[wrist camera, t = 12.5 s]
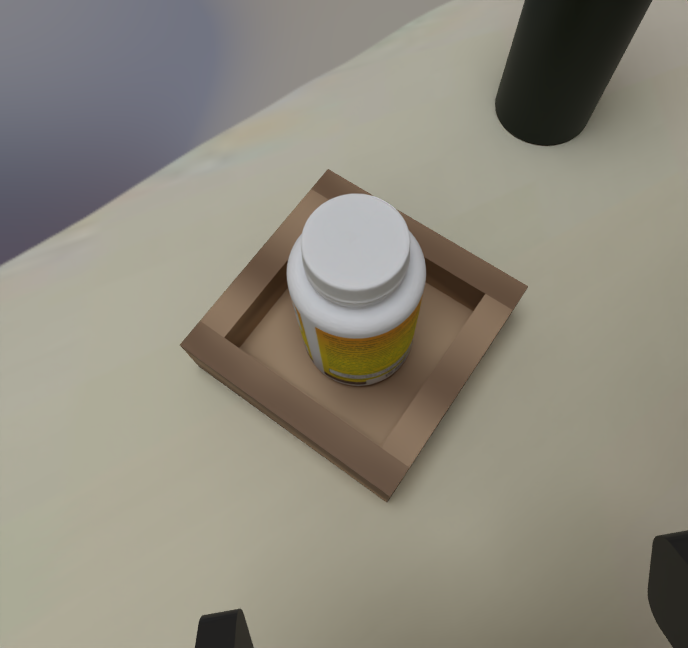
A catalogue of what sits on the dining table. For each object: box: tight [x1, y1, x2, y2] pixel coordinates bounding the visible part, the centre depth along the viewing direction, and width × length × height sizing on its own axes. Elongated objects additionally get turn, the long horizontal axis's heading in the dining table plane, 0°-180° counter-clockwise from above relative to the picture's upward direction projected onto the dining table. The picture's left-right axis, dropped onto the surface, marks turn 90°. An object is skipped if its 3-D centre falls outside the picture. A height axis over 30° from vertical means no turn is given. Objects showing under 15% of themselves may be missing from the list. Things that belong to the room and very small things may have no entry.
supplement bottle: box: [287, 194, 426, 386], centre depth 26 cm, size 6×6×10 cm
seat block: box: [180, 169, 528, 502], centre depth 30 cm, size 12×12×4 cm
